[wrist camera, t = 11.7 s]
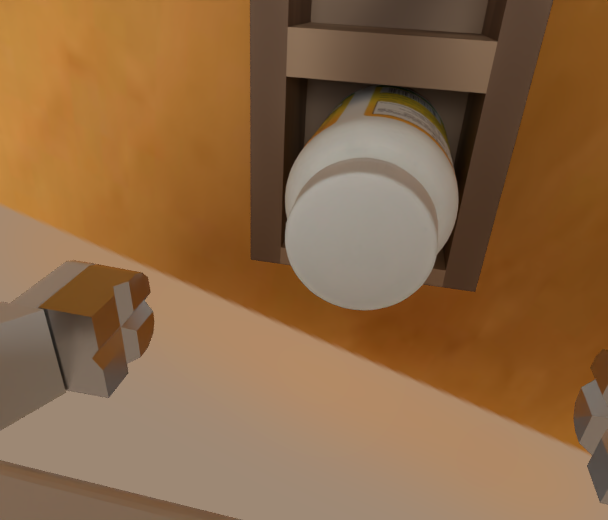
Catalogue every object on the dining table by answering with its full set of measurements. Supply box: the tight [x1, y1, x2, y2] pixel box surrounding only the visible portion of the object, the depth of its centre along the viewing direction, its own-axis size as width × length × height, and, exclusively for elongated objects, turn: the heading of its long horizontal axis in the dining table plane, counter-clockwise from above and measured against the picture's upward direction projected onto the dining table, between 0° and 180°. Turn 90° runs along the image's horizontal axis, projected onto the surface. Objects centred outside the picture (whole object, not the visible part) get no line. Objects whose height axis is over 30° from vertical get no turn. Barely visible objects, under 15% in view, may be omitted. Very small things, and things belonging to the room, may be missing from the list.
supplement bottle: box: [285, 84, 459, 310], centre depth 16 cm, size 5×5×10 cm
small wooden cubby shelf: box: [250, 0, 553, 292], centre depth 17 cm, size 9×16×4 cm, turn 177°
